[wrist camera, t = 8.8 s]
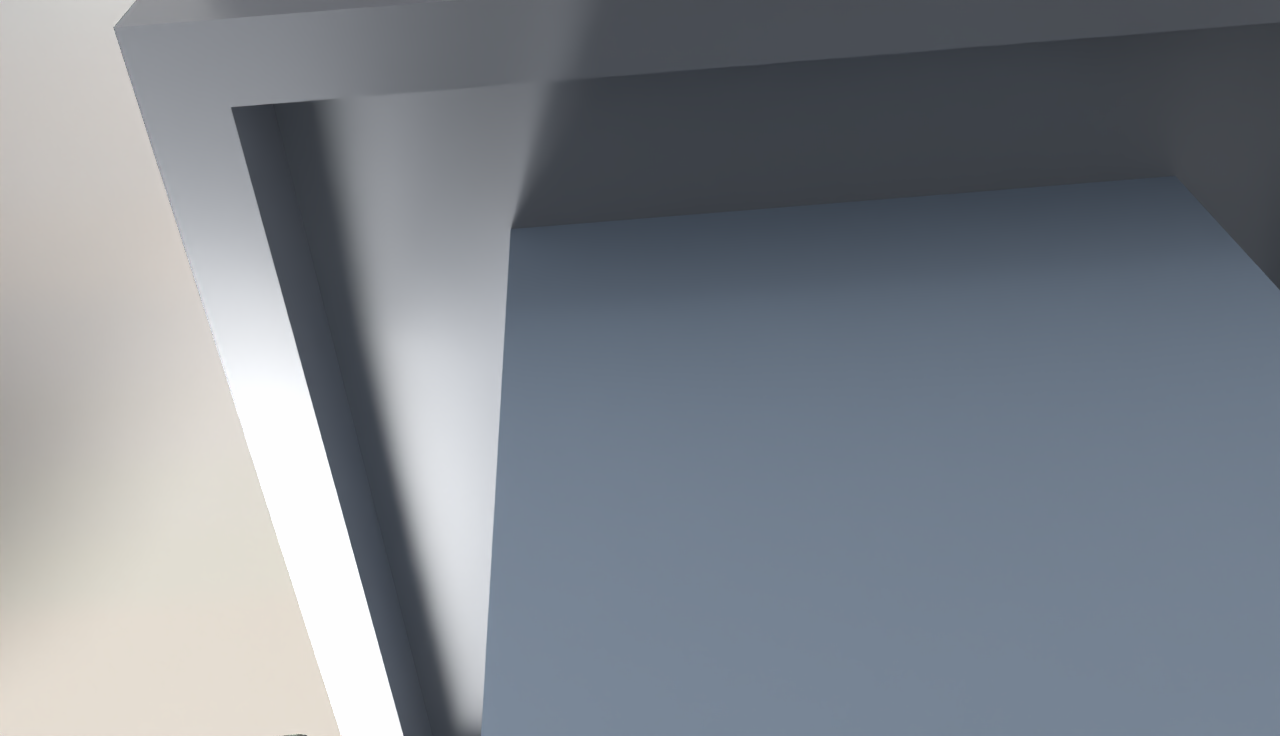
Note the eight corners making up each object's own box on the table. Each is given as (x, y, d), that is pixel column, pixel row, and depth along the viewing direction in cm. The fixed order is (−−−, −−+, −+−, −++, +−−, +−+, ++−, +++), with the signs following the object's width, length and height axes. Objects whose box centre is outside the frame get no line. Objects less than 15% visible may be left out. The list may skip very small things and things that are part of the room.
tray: (1216, 709, 15) (1275, 816, 14) (405, 780, 15) (392, 894, 14) (1500, -150, 9) (1647, -97, 8) (173, -44, 9) (113, 27, 8)
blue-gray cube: (1081, 630, 13) (1350, 1207, 9) (572, 673, 13) (581, 1274, 9) (1183, 175, 10) (1686, 716, 6) (510, 228, 10) (476, 819, 6)
